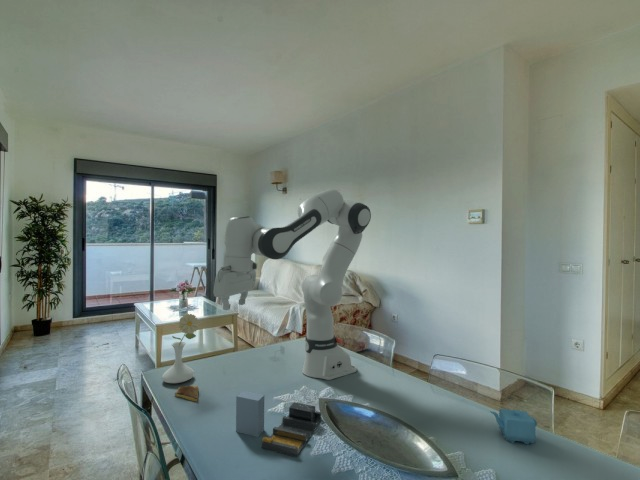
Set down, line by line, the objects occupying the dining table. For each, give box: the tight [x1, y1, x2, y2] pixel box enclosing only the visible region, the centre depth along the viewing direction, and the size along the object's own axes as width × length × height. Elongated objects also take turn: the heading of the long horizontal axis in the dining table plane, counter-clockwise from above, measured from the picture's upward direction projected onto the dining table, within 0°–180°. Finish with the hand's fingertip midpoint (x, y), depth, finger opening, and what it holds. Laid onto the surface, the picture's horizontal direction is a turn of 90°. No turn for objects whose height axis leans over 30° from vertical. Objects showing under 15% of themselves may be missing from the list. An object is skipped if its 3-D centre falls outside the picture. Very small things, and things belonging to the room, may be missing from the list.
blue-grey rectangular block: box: [235, 390, 265, 437], centre depth 96 cm, size 7×4×10 cm, turn 70°
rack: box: [261, 401, 323, 458], centre depth 95 cm, size 10×19×4 cm, turn 160°
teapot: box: [489, 408, 538, 445], centre depth 94 cm, size 12×6×8 cm, turn 79°
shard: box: [174, 385, 199, 403], centre depth 116 cm, size 11×8×2 cm
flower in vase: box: [161, 313, 200, 384], centre depth 129 cm, size 13×11×25 cm
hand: (234, 307), depth 111 cm, fingers open, 8 cm apart
